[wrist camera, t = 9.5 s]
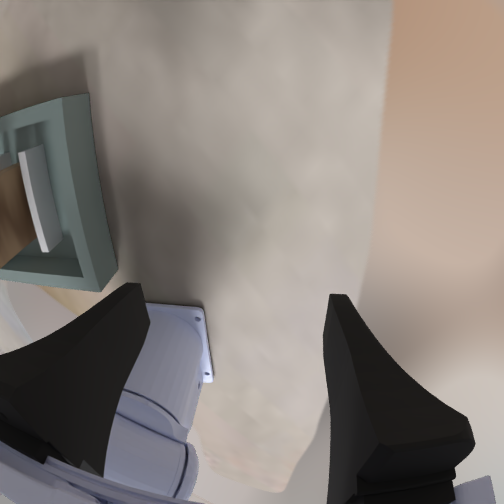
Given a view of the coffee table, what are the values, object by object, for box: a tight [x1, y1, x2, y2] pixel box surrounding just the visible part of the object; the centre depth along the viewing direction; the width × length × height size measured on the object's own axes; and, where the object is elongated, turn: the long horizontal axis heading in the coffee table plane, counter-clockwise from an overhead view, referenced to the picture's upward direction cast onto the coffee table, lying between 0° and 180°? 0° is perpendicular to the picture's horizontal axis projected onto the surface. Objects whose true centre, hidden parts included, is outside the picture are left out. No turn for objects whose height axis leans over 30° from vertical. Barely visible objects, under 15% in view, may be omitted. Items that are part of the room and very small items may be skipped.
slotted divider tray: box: [0, 93, 118, 292], centre depth 20 cm, size 14×14×3 cm
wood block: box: [0, 162, 37, 269], centre depth 18 cm, size 6×2×8 cm, turn 1°
